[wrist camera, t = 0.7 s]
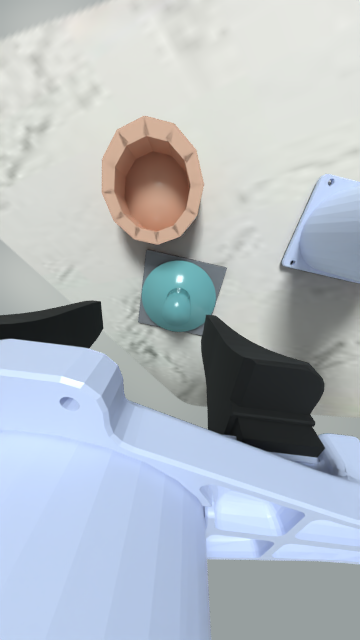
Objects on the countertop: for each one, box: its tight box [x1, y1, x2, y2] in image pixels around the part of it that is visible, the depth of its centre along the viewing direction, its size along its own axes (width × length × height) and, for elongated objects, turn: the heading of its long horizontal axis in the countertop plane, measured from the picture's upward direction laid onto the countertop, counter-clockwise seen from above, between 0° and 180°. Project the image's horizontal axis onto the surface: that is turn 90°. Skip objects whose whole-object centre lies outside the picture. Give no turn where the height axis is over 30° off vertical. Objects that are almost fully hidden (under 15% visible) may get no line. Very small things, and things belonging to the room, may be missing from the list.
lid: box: [142, 260, 216, 332], centre depth 19 cm, size 9×9×5 cm
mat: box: [138, 250, 227, 335], centre depth 21 cm, size 9×9×1 cm
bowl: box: [102, 116, 204, 245], centre depth 16 cm, size 8×8×3 cm
